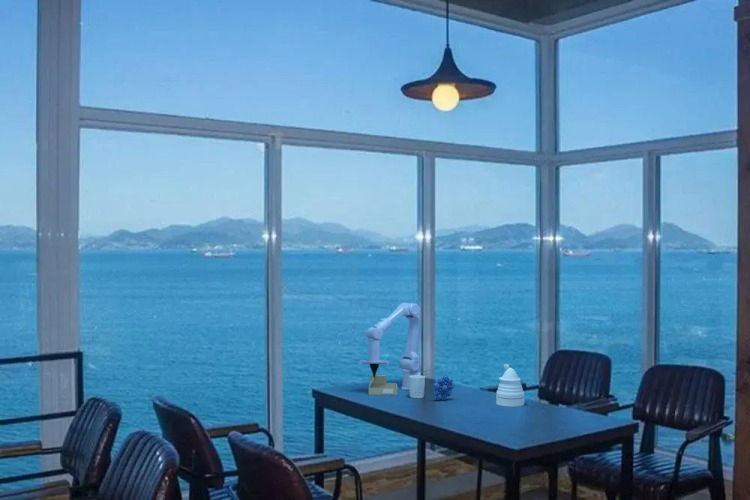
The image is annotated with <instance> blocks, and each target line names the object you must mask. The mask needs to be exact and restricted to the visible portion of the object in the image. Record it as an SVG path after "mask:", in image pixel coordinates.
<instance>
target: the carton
mask: <svg viewBox="0 0 750 500" xmlns="http://www.w3.org/2000/svg"><path fill="white" fill-rule="evenodd" d="M369 384H370V382H369V383H368V385H369ZM368 396H398V384H397V383H396V382H395V383H394V382H393V383H392V382H386V383H371V385H370V387H369V386H368Z"/></svg>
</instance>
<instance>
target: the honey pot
mask: <svg viewBox="0 0 750 500" xmlns="http://www.w3.org/2000/svg"><path fill="white" fill-rule="evenodd" d="M503 368H504V369H505V371H504V372H503V374H502V376H500V377H498V380H499V384H498V387H497V390H496V392H495V393H496V395H495V396H496V397H495V401H496V403H495V405H498V406H502V407H513V408H514V407H522V406H524V405H525V391H524V389H523V385H522V384H521V381H522V379H521V378H520V377H519V375H518V374H517V372H516V370H515V369H514V368H512V367H510V364H509V363H506V364H503Z"/></svg>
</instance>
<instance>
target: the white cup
mask: <svg viewBox="0 0 750 500" xmlns="http://www.w3.org/2000/svg"><path fill="white" fill-rule="evenodd" d="M425 387H426V376H425V375H422V374H420V375H411V376H409V398H412V399H423V398H424V397H425Z"/></svg>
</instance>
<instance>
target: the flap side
mask: <svg viewBox="0 0 750 500" xmlns="http://www.w3.org/2000/svg"><path fill="white" fill-rule="evenodd" d="M369 378H370V382H371V380H372V378H373V374H370V377H369ZM370 382H369V383H370ZM372 383H387V375H386V374H385V375H383V374H376V375H375V380H373V381H372Z"/></svg>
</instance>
